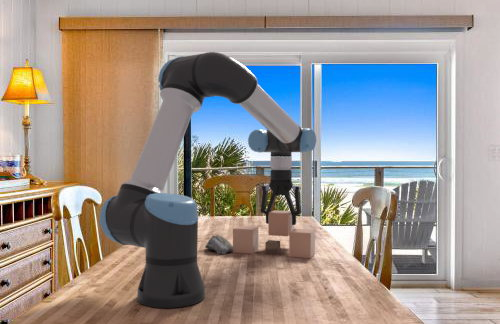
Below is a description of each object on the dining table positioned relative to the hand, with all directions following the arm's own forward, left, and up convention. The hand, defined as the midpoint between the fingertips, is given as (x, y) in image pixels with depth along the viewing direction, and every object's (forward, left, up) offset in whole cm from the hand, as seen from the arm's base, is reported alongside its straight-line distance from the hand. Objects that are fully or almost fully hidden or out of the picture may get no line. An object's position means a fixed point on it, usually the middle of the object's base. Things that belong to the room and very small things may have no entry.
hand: (280, 233), depth 167 cm
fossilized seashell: (-13, +19, -5) cm, 23 cm away
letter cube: (-10, 0, -5) cm, 11 cm away
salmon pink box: (-10, -10, -5) cm, 15 cm away
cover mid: (0, 0, 0) cm, 0 cm away
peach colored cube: (-10, +10, -5) cm, 15 cm away
